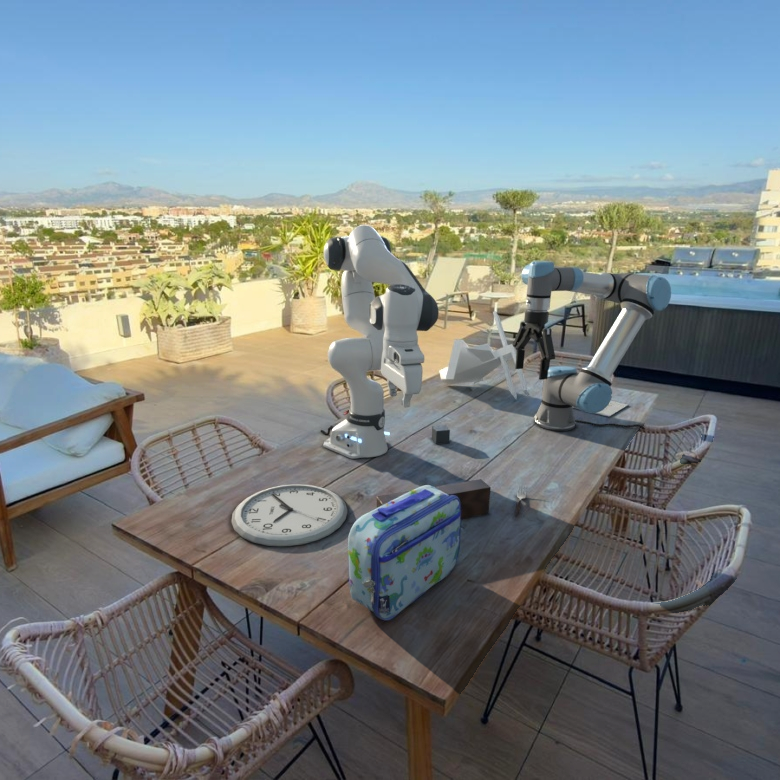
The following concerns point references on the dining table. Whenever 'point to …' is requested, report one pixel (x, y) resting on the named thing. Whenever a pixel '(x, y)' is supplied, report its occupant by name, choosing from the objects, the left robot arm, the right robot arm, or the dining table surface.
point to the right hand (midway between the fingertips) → (530, 373)
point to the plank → (469, 494)
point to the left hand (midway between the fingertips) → (399, 400)
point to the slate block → (440, 434)
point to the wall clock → (289, 515)
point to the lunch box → (403, 549)
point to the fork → (520, 496)
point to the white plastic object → (481, 362)
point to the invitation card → (611, 408)
